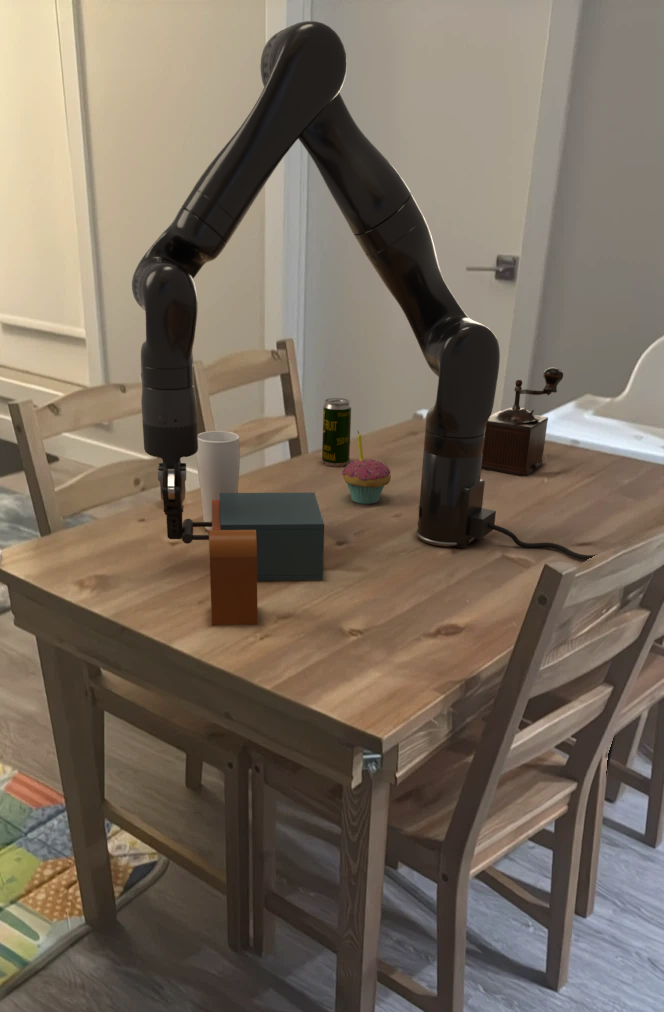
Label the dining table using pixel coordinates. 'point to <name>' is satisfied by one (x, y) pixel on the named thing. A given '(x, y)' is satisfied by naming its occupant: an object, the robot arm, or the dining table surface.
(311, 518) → the cabinet
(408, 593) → the dining table surface
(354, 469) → the cupcake
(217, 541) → the bread
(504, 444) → the manual coffee grinder
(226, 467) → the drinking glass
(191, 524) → the drawer
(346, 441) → the green drink can
